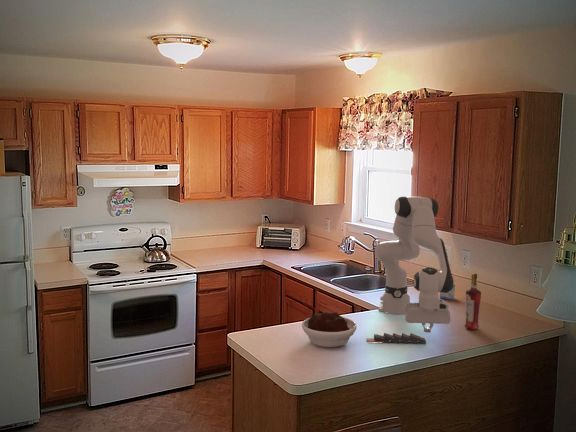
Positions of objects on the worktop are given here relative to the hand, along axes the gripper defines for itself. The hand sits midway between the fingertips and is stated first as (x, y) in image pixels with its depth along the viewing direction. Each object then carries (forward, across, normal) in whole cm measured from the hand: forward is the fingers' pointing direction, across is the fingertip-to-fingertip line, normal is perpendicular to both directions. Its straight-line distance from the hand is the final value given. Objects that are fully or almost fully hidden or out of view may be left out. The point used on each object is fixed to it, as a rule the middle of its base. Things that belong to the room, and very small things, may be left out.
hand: (427, 332), depth 274 cm
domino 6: (+4, -1, 0) cm, 4 cm away
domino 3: (+4, -13, 0) cm, 14 cm away
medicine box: (+5, +26, +77) cm, 82 cm away
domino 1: (+5, -21, 0) cm, 21 cm away
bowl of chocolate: (+5, -46, -4) cm, 46 cm away
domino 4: (+4, -9, 0) cm, 10 cm away
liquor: (+5, +26, +22) cm, 35 cm away
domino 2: (+4, -17, 0) cm, 18 cm away
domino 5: (+4, -5, 0) cm, 7 cm away
